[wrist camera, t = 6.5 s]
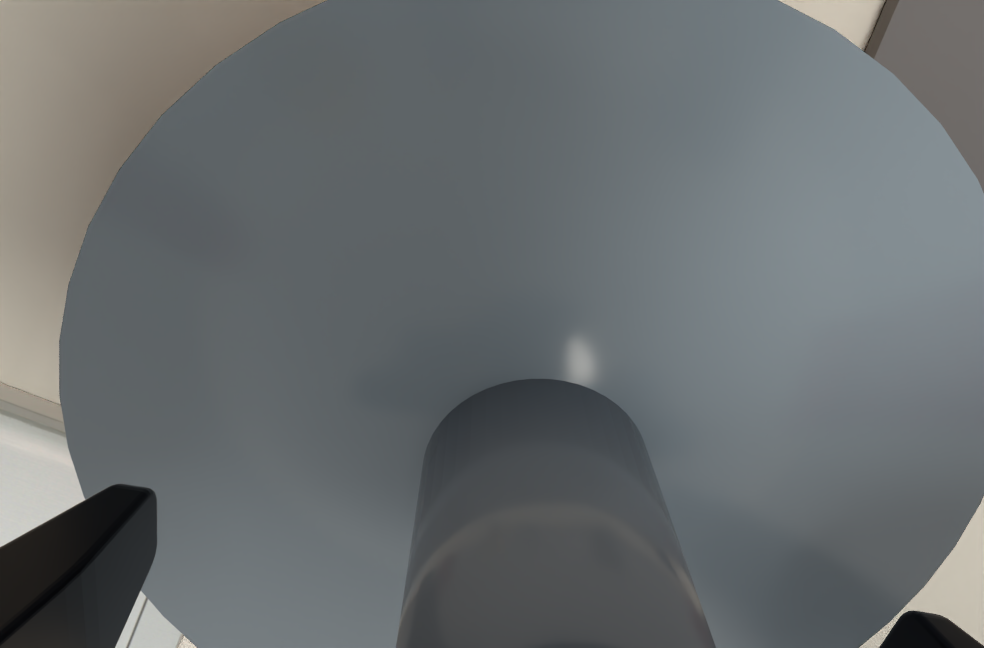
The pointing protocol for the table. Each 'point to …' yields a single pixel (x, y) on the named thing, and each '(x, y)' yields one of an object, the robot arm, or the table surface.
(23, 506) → the hard drive
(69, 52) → the table surface
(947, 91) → the mat
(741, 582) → the lid
